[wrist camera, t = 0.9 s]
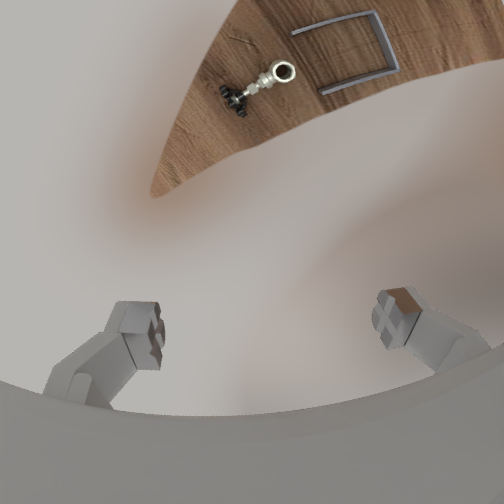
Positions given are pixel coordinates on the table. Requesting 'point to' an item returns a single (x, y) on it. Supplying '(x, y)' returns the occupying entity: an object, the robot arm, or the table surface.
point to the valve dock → (384, 45)
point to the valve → (257, 86)
